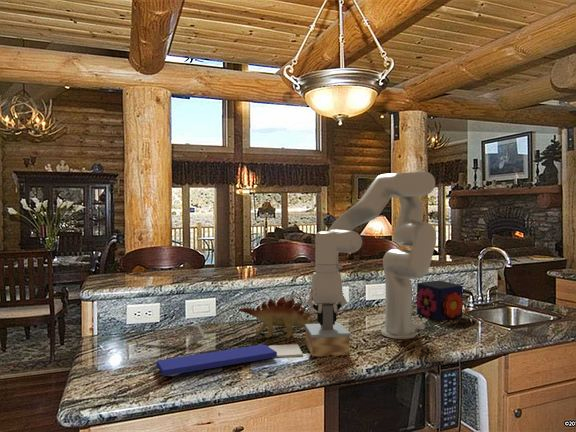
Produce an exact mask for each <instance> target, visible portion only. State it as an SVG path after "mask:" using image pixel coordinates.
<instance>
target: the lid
mask: <svg viewBox="0 0 576 432" xmlns="http://www.w3.org/2000/svg"><path fill="white" fill-rule="evenodd" d="M322 313H323V325H320V324H318V323H316V324H305V327H304V328H305V330H306V329H307V331H308V332H309V334H310V335H311V337H312V338H326V337H346V336H349V337H351V332H350V331H349V330H348V329H347V328H346V327H345V326H344V325H343V324H342V323H341V322H335V325H333V305H332V304H331V303H330V304H322Z"/></svg>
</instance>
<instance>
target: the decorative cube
mask: <svg viewBox="0 0 576 432" xmlns="http://www.w3.org/2000/svg"><path fill="white" fill-rule="evenodd" d="M463 287H464V286H463V285H461V284H457V283H454V282H449V281H444V280H439V279H438V280H433V281H432V280H431V281H430V280H429V281H424V282H423V281H422V282H417V283H416V298H415V299H416V302H415V303H416V313H417V314H418V315H421V316H423V317H426V318H430V319H433V320H437V321H446V320H454V319H459V318H463V308H464V302H463V297H464V294H463V291H464V290H463V289H464V288H463Z"/></svg>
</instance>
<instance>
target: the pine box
mask: <svg viewBox="0 0 576 432" xmlns="http://www.w3.org/2000/svg"><path fill="white" fill-rule="evenodd" d="M305 346H306V348H307V349H308V351H309V353H310V354H311V356H312V358H314V356H316V357H329V356H330V355H334V356H349V355H350V336H346V337H326V338H312V337H311V335H310V334H309V332H308V331H307V329H306V328H305ZM348 354H349V355H348ZM330 357H331V356H330Z"/></svg>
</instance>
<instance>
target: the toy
mask: <svg viewBox="0 0 576 432" xmlns="http://www.w3.org/2000/svg"><path fill="white" fill-rule="evenodd" d="M294 300H295V299H294V298H291V299H289V300H287V301H286V299H285V297H281V298H279V299H278V300H277V301H275V300H273V299H272V298H269V300H268V301H267V303H266V301H263V302H262V303H261V306H260V305H258V306H257V307H256V309H255V307H252V306H250V307H248V306H246V307H242V308H239V312H243V313H245V314H249V315H250V316H252V317H254V318H257V319H258V320H259V321H261V323H262V324H261V326H260V327H259V329H256V330H255V334H262V332H263V331H264V330H265V329H266V328H268V329H267V330H268V333H265V334H264V335H263V338H271V337H272V336H273V334H274V326H275V327H284V328H285V329H284V330H283V333H285V334H284V335H283V336H284V338H286V339H290V338H291V336H292V335H293V333H294V330H293V327H295V326H296V327H301V328H303V327H304V328H305V324H319V322H318V321H317V323H316V321H314V322H312V319H310V317H311V314H310V313H308V312H306V310H307V309H306V308H305V307H303V308H301V307H302V305H303V304H302V303H301V302H296V303H295V301H294ZM305 312H306V313H305Z"/></svg>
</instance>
